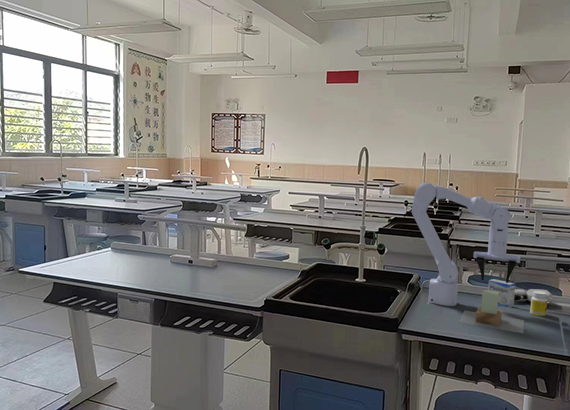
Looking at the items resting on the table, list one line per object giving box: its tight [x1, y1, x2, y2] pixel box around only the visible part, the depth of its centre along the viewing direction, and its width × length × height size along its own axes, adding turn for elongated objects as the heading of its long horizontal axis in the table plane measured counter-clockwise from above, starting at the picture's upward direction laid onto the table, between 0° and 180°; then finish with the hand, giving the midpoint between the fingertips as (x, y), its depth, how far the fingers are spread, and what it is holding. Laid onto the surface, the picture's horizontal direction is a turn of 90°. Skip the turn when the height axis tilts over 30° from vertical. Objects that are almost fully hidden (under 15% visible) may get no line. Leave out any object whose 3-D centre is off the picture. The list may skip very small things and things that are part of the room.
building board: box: [458, 310, 525, 334], centre depth 155 cm, size 18×14×1 cm
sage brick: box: [480, 289, 499, 314], centre depth 155 cm, size 4×4×6 cm
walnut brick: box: [475, 306, 503, 326], centre depth 155 cm, size 7×7×3 cm
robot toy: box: [514, 288, 553, 303], centre depth 182 cm, size 12×4×15 cm
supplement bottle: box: [529, 291, 548, 317], centre depth 164 cm, size 5×5×8 cm
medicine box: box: [487, 278, 516, 309], centre depth 176 cm, size 8×4×9 cm, turn 42°
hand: (494, 280), depth 168 cm, fingers open, 7 cm apart
